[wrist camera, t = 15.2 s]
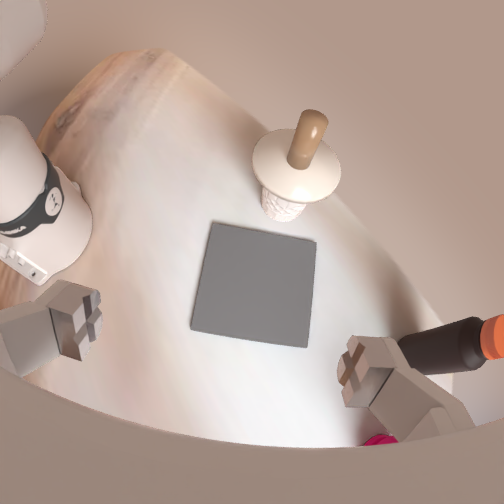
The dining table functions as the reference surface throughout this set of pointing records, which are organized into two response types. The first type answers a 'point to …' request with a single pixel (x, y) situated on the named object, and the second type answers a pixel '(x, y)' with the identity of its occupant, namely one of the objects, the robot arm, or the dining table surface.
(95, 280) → the dining table surface
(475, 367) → the bottle
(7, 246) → the robot arm
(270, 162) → the lid
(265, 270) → the slate mat
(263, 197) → the white cup
